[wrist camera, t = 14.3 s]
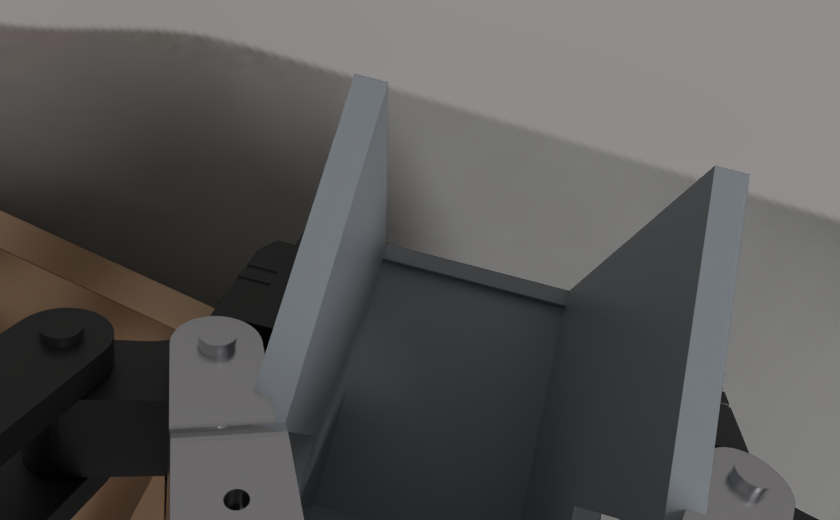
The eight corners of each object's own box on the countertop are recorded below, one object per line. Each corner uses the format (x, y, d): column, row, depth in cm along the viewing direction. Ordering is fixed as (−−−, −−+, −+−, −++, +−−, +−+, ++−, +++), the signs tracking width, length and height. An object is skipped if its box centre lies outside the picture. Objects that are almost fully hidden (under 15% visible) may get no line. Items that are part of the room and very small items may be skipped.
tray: (284, 348, 23) (267, 332, 20) (134, 646, 21) (85, 686, 17) (-22, 208, 24) (-88, 169, 21) (-203, 479, 21) (-313, 486, 18)
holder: (522, 579, 16) (679, 724, 8) (291, 517, 17) (189, 592, 8) (576, 304, 18) (749, 174, 10) (368, 250, 18) (354, 73, 10)
